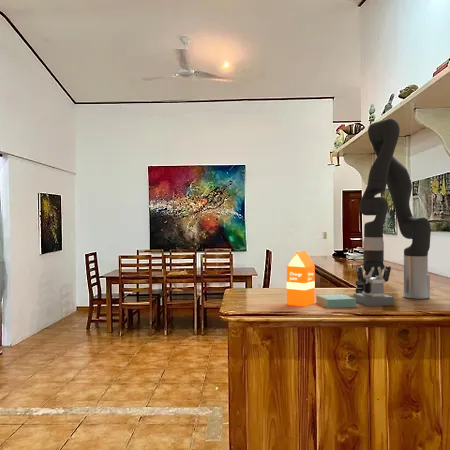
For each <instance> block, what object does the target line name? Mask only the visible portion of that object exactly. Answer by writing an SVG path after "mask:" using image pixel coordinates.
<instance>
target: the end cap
mask: <svg viewBox="0 0 450 450" xmlns="http://www.w3.org/2000/svg"><path fill="white" fill-rule="evenodd" d="M355 286H356V288H355V293H362V291H363V283H362V282H359V281H358V280H356V281H355Z"/></svg>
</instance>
